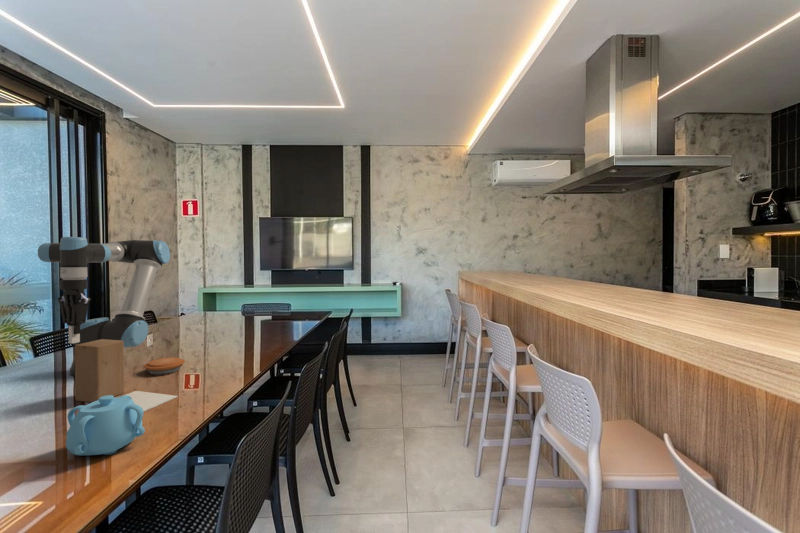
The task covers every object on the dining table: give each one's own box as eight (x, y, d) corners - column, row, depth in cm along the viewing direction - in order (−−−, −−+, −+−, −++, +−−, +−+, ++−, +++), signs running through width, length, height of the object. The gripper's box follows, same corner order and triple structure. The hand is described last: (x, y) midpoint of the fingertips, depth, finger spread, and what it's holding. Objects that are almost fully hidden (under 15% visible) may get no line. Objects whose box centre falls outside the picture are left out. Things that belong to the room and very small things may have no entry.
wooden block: (97, 403, 128) (97, 346, 128) (74, 401, 130) (74, 344, 130) (124, 393, 138) (124, 340, 137) (102, 391, 140) (102, 338, 139)
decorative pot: (147, 448, 99) (147, 398, 99) (66, 471, 88) (66, 414, 88) (138, 427, 111) (138, 382, 111) (66, 445, 100) (66, 395, 100)
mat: (136, 391, 139) (136, 390, 139) (177, 397, 135) (177, 395, 135) (94, 407, 125) (94, 406, 125) (139, 413, 120) (139, 412, 120)
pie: (192, 367, 171) (192, 356, 171) (166, 377, 156) (166, 366, 156) (163, 365, 174) (163, 354, 174) (134, 375, 159) (134, 364, 159)
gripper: (49, 279, 134) (49, 343, 134) (76, 279, 130) (76, 346, 131) (72, 278, 141) (72, 339, 141) (98, 278, 138) (98, 341, 138)
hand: (74, 342), depth 136 cm, fingers closed
